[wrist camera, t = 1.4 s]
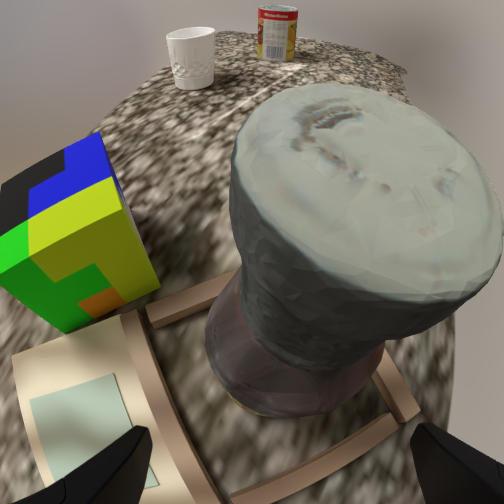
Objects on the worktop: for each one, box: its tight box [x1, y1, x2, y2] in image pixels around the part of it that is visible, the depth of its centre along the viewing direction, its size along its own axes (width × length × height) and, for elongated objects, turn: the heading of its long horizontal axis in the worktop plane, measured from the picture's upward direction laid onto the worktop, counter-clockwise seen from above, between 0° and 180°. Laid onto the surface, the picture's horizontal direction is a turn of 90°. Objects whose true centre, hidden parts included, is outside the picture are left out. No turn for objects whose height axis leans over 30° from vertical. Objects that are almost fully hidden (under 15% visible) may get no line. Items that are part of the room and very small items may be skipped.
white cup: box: [166, 27, 215, 90], centre depth 41 cm, size 8×8×10 cm
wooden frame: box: [12, 268, 421, 504], centre depth 18 cm, size 18×30×2 cm, turn 116°
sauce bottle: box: [205, 83, 504, 419], centre depth 12 cm, size 7×6×20 cm
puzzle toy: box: [0, 132, 161, 333], centre depth 21 cm, size 10×10×10 cm
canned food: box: [257, 5, 298, 62], centre depth 48 cm, size 8×8×12 cm
